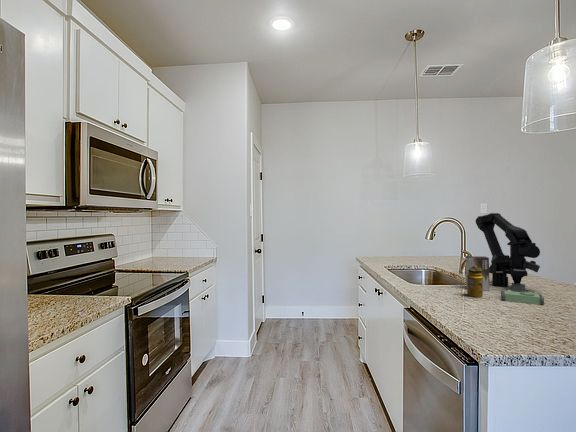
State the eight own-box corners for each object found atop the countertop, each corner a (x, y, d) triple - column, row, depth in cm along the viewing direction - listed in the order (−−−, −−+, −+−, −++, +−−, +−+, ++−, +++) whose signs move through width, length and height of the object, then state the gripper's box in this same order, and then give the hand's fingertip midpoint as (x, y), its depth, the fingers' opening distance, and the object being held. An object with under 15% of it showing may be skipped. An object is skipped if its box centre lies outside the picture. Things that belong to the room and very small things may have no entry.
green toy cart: (501, 300, 140) (501, 292, 140) (500, 294, 151) (500, 286, 151) (544, 305, 133) (543, 296, 133) (539, 298, 144) (539, 290, 144)
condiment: (487, 298, 146) (487, 271, 146) (469, 298, 144) (469, 271, 144) (475, 294, 153) (475, 268, 153) (459, 294, 152) (458, 268, 152)
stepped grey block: (512, 294, 153) (512, 284, 153) (511, 291, 158) (511, 282, 158) (525, 295, 150) (525, 285, 150) (524, 292, 155) (524, 283, 155)
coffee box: (486, 288, 164) (485, 256, 164) (489, 291, 158) (489, 257, 158) (465, 287, 167) (465, 255, 167) (468, 290, 161) (468, 257, 161)
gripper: (541, 258, 145) (541, 293, 145) (535, 254, 161) (536, 286, 161) (510, 257, 151) (511, 291, 151) (508, 253, 167) (508, 283, 167)
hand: (517, 287), depth 158 cm, fingers closed
